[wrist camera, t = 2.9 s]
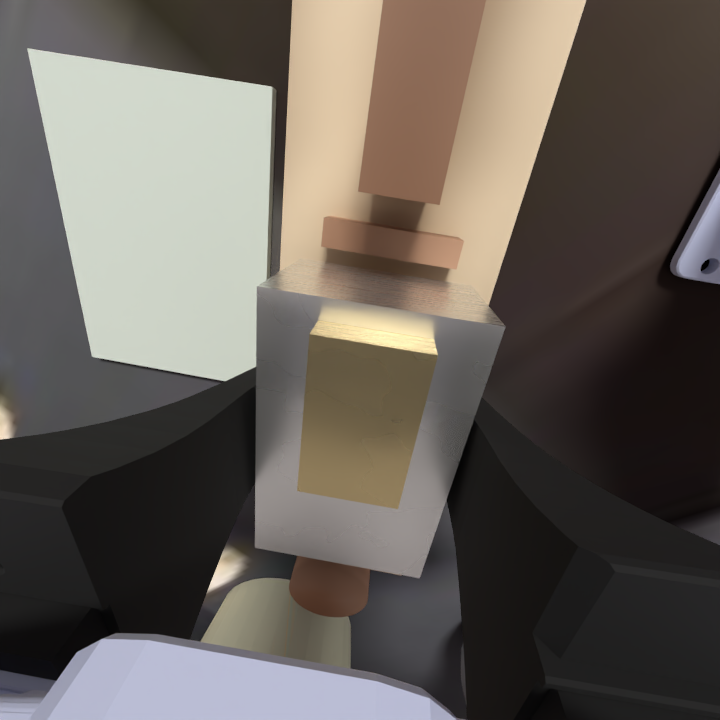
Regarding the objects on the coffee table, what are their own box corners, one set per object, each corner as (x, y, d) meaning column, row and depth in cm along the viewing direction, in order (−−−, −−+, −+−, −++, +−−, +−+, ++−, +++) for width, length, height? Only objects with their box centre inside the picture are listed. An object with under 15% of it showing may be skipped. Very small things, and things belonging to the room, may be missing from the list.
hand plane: (555, 26, 10) (744, -184, 4) (401, 540, 19) (401, 673, 14) (313, -11, 10) (213, -252, 5) (279, 516, 20) (233, 638, 14)
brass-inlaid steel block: (471, 285, 10) (518, 342, 6) (414, 488, 13) (421, 607, 10) (300, 258, 10) (240, 296, 6) (288, 466, 14) (244, 573, 10)
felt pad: (276, 90, 11) (272, 86, 11) (266, 384, 16) (263, 388, 16) (39, 53, 11) (27, 48, 11) (99, 353, 16) (91, 356, 16)
